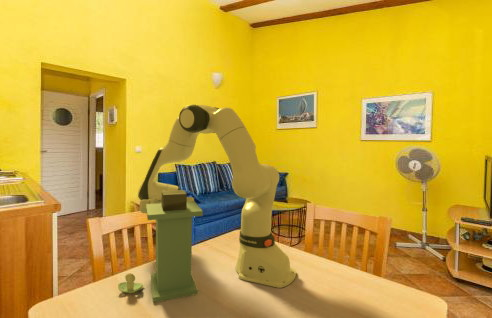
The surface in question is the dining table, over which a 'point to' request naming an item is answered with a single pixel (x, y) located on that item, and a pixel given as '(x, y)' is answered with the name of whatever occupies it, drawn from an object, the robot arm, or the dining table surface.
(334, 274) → the dining table surface
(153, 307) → the dining table surface
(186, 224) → the stand
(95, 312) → the dining table surface
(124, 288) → the pacifier
